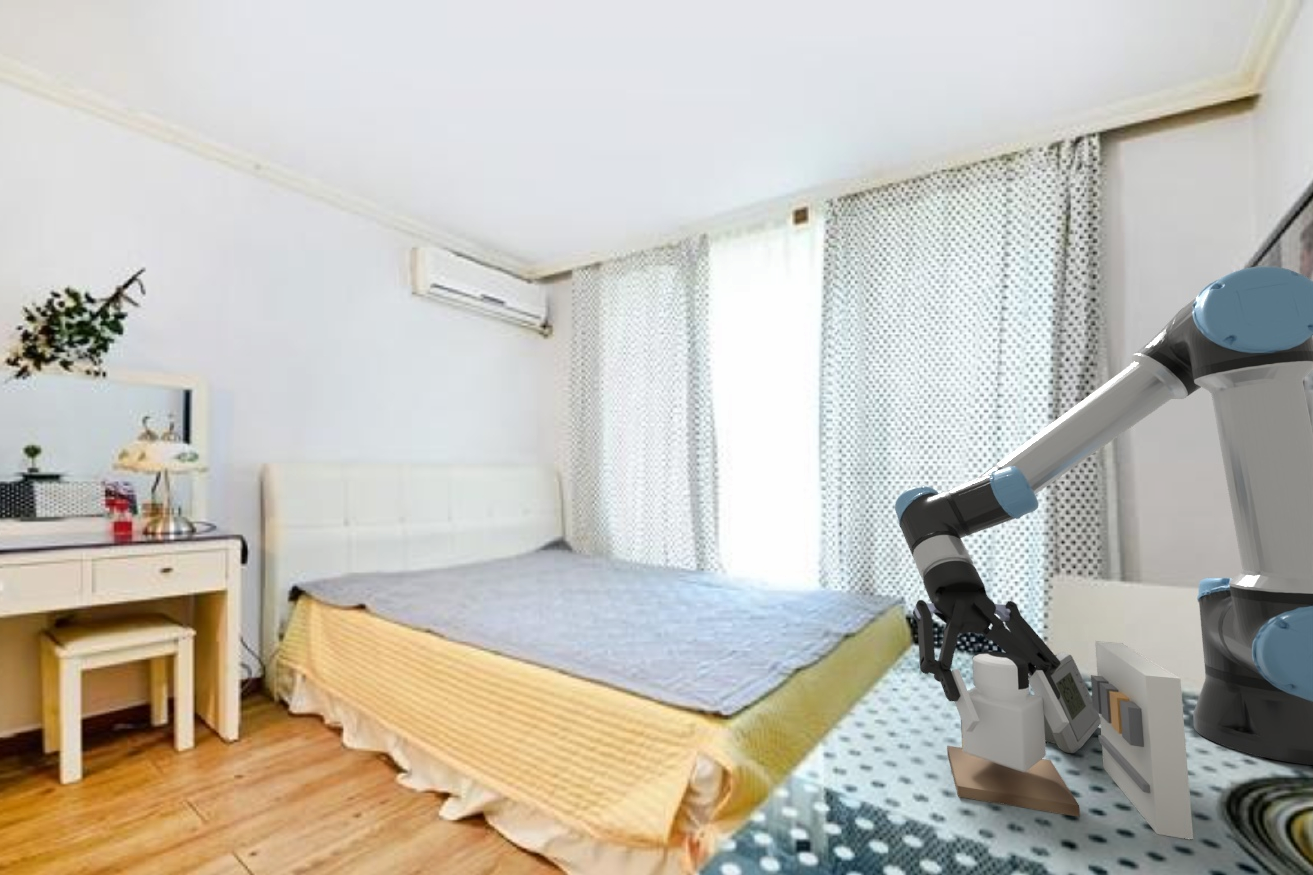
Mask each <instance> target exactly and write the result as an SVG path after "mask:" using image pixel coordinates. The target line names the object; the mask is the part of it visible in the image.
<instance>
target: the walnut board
mask: <svg viewBox="0 0 1313 875" xmlns="http://www.w3.org/2000/svg"><path fill="white" fill-rule="evenodd" d="M946 751H947V757H948V762H949V766H950V769H951V775H952V778H953V781H954V782H953V783H954V786H955V789H956V795H957V797H959V798H964V799H970V800H975V801H981V802H988V803H995V804H1000V805H1005V806H1012V807H1019V808H1025V809H1029V810H1030V809H1031V810H1038V811H1042V812H1050V813H1055V814H1061V815H1066V816H1073V817H1079V818H1080V817H1081V813H1080V809H1081V808H1080V804H1079V802H1078V801H1077V800H1076V798H1075V796H1074V795H1073V793H1072V791H1071V790H1070V788H1069V787H1068V786H1067V784H1066V782H1065V780H1064V779H1063V778H1062V776H1061V774H1060V773H1059V771H1058V769H1057V768H1056V766H1055V765H1054V764H1053V761H1052V760H1051V759H1048V758H1042V759H1041V760H1040V761H1038V762H1037V763H1036V764H1035V765H1033V766H1032V767H1031V768H1030V769H1028V770H1027V771H1026V772H1021V771H1018V770H1015V769H1012V768H1009V767H1006V766H1003V765H999V764H996V763H993V762H990V761H987V760H984V759H981V758H978V757H975V756H972V755H969V754H966V753H964V752H963V751H962V746H954V745H953V746H952V745H946Z"/></svg>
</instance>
